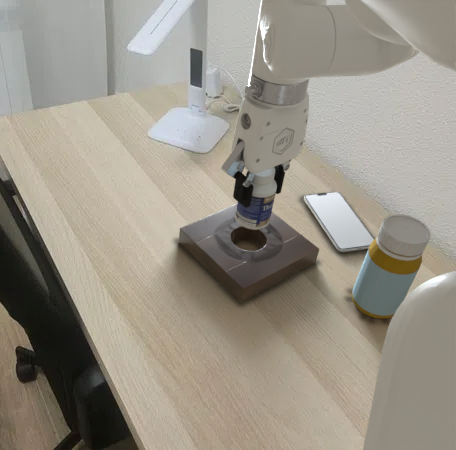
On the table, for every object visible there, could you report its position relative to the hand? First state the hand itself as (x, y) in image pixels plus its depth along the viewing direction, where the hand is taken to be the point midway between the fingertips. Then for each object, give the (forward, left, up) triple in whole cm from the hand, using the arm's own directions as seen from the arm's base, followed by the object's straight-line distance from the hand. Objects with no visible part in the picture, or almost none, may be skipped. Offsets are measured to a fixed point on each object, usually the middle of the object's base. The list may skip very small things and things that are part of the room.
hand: (257, 194), depth 83 cm
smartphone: (-3, -19, -12) cm, 23 cm away
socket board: (0, 0, -12) cm, 12 cm away
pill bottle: (0, 0, -5) cm, 5 cm away
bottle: (-19, -9, -12) cm, 24 cm away
